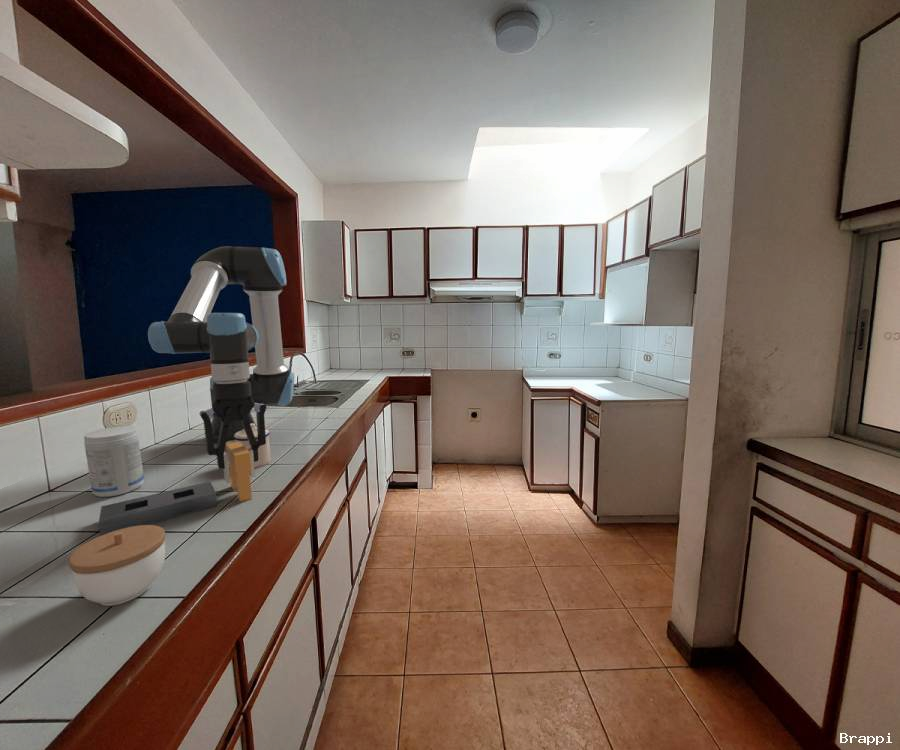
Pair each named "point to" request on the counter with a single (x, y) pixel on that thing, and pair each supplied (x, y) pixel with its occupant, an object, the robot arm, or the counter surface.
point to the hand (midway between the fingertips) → (239, 477)
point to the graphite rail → (156, 507)
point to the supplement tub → (114, 460)
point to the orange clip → (239, 469)
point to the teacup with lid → (242, 437)
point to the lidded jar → (119, 564)
